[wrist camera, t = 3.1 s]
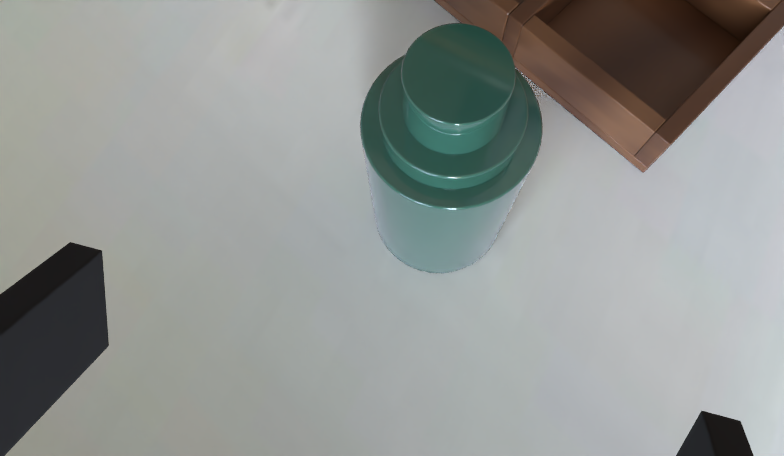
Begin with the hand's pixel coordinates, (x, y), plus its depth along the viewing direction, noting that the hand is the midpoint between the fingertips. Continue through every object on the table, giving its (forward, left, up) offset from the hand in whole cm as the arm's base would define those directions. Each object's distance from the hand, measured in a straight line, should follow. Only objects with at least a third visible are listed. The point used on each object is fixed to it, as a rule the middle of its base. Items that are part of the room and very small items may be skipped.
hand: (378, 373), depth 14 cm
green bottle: (-4, +7, -13) cm, 15 cm away
